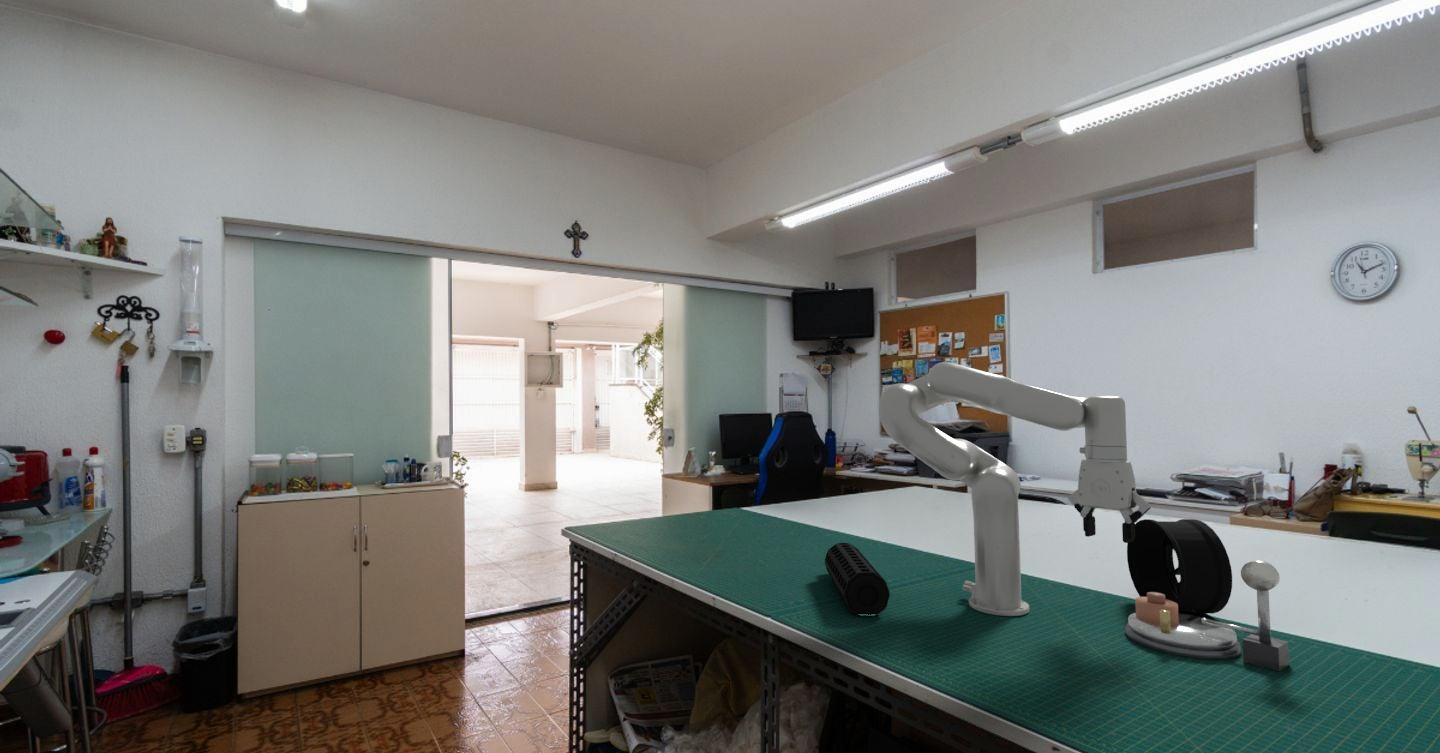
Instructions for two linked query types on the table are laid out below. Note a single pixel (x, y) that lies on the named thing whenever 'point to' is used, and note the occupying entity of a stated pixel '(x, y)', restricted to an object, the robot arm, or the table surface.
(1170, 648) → the turntable base
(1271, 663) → the metal lever
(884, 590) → the roller
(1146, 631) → the disc
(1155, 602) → the cover
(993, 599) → the robot arm
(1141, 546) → the car wheel rim
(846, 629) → the table surface
